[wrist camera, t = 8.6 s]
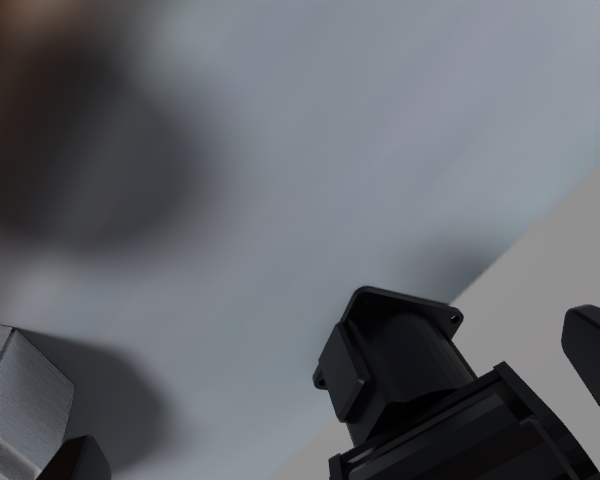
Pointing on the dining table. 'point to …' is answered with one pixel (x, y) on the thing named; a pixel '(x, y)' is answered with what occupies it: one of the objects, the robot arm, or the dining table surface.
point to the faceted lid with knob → (29, 407)
